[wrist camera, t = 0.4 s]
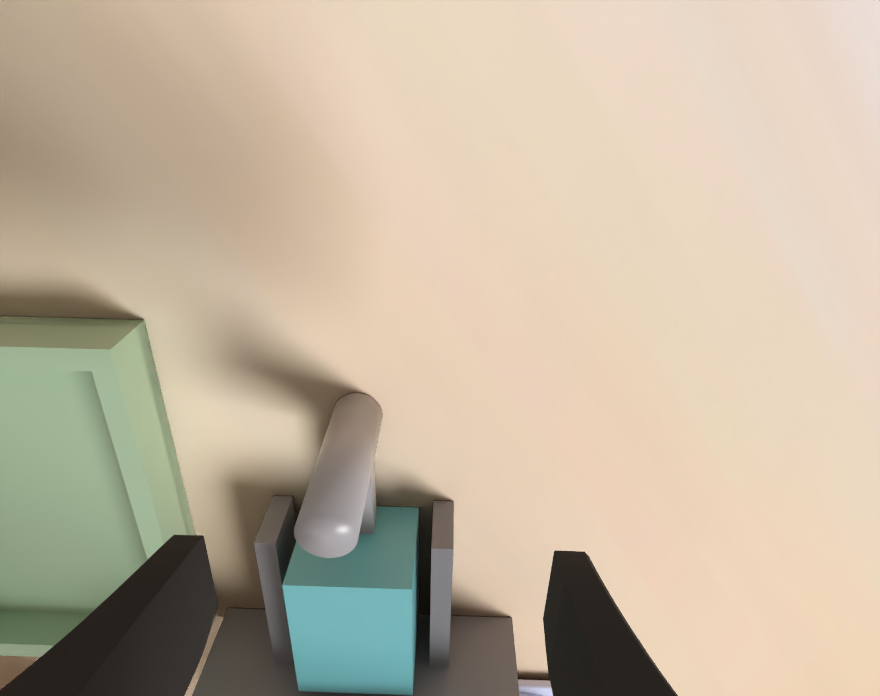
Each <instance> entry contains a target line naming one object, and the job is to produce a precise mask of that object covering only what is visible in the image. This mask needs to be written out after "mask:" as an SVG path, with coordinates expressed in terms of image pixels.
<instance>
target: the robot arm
mask: <svg viewBox="0 0 880 696" xmlns="http://www.w3.org/2000/svg"><path fill="white" fill-rule="evenodd" d="M217 606H218V603H217V598H216V593H215V588H214V584H213V579H212V574H211V569H210V564H209V560H208V555H207V550H206V545H205V540H204V536H197V535H173V536H172V537H171V538H170V539H169V540H168V541H166V542H165V543H164V544H163V545H162V546H161V547H160V548H159V549H158V550H157V551H156V552H155V553H154V554H153V555H152V556H151V557H150V558H149V559H148V560H147V561H146V562H144V563H143V564H142V565H141V566H140V567H139V568H138V569H137V570H136V571H135V572H134V573H133V574H132V575H131V576H130V577H129V578H128V579H127V580H126V581H125V582H124V583H123V584H122V585H120V586H119V587H118V588H117V589H116V590H115V591H114V592H113V593H112V594H111V595H110V596H109V597H108V598H107V599H106V600H104V601H103V602H102V603H101V604H100V605H99V606H98V607H97V608H96V609H95V610H94V611H93V612H91V613H90V614H89V615H88V616H87V617H86V618H85V619H84V620H83V621H82V622H81V623H79V624H78V625H77V626H76V627H75V628H74V629H73V630H72V631H70V632H69V633H68V634H67V635H66V636H65V637H63V638H62V639H61V640H60V641H59V642H58V643H56V644H55V645H54V646H53V647H52V648H51V649H49V650H48V651H47V652H46V653H45V654H44V655H42V656H41V657H40V658H39V659H38V660H37V661H35V662H34V663H33V664H32V665H31V666H30V667H28V668H27V669H26V670H25V671H23V672H22V673H21V674H20V675H18V676H17V677H16V678H15V679H14V680H12V681H11V682H10V683H9V684H7V685H6V686H5V687H3V688H2V689H1V690H0V696H184V695H185V693H186V691H187V689H188V686H189V684H190V682H191V679H192V677H193V675H194V673H195V670H196V668H197V666H198V663H199V661H200V659H201V657H202V654H203V651H204V648H205V645H206V642H207V639H208V635H209V632H210V629H211V626H212V623H213V619H214V616H215V613H216V609H217ZM543 622H544V633H545V644H546V654H547V664H548V672H549V678H550V681H549V680H521V679H518V686H519V696H678V695H677V694H676V693H675V691H674V690H673V689H672V687H671V686H670V684H669V683H668V682H667V680H666V679H665V678H664V676H663V675H662V673H661V672H660V671H659V669H658V668H657V666H656V665H655V663H654V662H653V661H652V659H651V658H650V656H649V655H648V653H647V652H646V650H645V649H644V647H643V646H642V644H641V643H640V641H639V640H638V638H637V637H636V635H635V634H634V632H633V631H632V629H631V628H630V626H629V625H628V623H627V621H626V620H625V618H624V617H623V615H622V613H621V612H620V610H619V609H618V607H617V605H616V604H615V602H614V600H613V599H612V597H611V595H610V594H609V592H608V590H607V588H606V587H605V585H604V583H603V581H602V580H601V578H600V576H599V574H598V573H597V571H596V569H595V567H594V565H593V563H592V561H591V560H590V558H589V556H588V555H587V554H586V553H585V552H576V551H554V556H553V562H552V568H551V575H550V581H549V587H548V593H547V599H546V605H545V611H544V617H543Z"/></svg>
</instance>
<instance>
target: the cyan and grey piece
mask: <svg viewBox="0 0 880 696" xmlns="http://www.w3.org/2000/svg"><path fill="white" fill-rule="evenodd" d="M381 421H382V409H381V407H380V405H379V404H378V402H377V401H376V400H375V399H373V398H372V397H370V396H368V395H366V394H362V393H351V394H347V395H345V396H343V397H341V398H340V399H339V400H338V401H337V403H336V405H335V407H334V410H333V413H332V416H331V419H330V422H329V425H328V428H327V431H326V434H325V437H324V440H323V443H322V446H321V449H320V452H319V455H318V458H317V461H316V464H315V467H314V470H313V473H312V476H311V479H310V482H309V485H308V488H307V491H306V494H305V497H304V500H303V503H302V506H301V509H300V512H299V515H298V518H297V521H296V524H295V527H294V536H295V539H296V544H295V547H294V550H293V553H292V556H291V559H290V563H289V566H288V569H287V572H286V575H285V578H284V581H283V584H282V587H283V593H284V600H285V606H286V613H287V619H288V626H289V632H290V639H291V645H292V651H293V658H294V664H295V671H296V677H297V684H298V690H299V691H308V692H336V693H364V694H392V695H413V684H414V669H415V654H416V640H417V625H418V610H419V508H418V507H386V506H376V487H375V464H374V457H375V452H376V447H377V442H378V436H379V431H380V426H381Z"/></svg>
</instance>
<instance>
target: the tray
mask: <svg viewBox="0 0 880 696" xmlns="http://www.w3.org/2000/svg"><path fill="white" fill-rule="evenodd" d="M173 535H195V531H194V527H193V523H192V519H191V515H190V510H189V506H188V502H187V498H186V493H185V489H184V485H183V481H182V477H181V472H180V468H179V464H178V460H177V456H176V451H175V447H174V443H173V439H172V435H171V430H170V426H169V422H168V418H167V414H166V409H165V405H164V401H163V397H162V392H161V388H160V384H159V380H158V376H157V371H156V367H155V363H154V359H153V355H152V350H151V346H150V342H149V338H148V334H147V329H146V325H145V321H144V320H129V319H92V318H55V317H18V316H0V656H28V657H41V656H42V655H44V654H45V653H46V652H47V651H48V650H49V649H51V648H52V647H53V646H54V645H55V644H56V643H58V642H59V641H60V640H61V639H62V638H63V637H65V636H66V635H67V634H68V633H69V632H70V631H72V630H73V629H74V628H75V627H76V626H77V625H78V624H79V623H81V622H82V621H83V620H84V619H85V618H86V617H87V616H88V615H89V614H90V613H91V612H93V611H94V610H95V609H96V608H97V607H98V606H99V605H100V604H101V603H102V602H103V601H104V600H106V599H107V598H108V597H109V596H110V595H111V594H112V593H113V592H114V591H115V590H116V589H117V588H118V587H119V586H120V585H122V584H123V583H124V582H125V581H126V580H127V579H128V578H129V577H130V576H131V575H132V574H133V573H134V572H135V571H136V570H137V569H138V568H139V567H140V566H141V565H142V564H143V563H144V562H146V561H147V560H148V559H149V558H150V557H151V556H152V555H153V554H154V553H155V552H156V551H157V550H158V549H159V548H160V547H161V546H162V545H163V544H164V543H165V542H166V541H168V540H169V539H170V538H171V537H172V536H173ZM214 619H215V616H214ZM214 619H213V622H214ZM212 624H213V623H212Z"/></svg>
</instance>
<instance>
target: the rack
mask: <svg viewBox="0 0 880 696" xmlns="http://www.w3.org/2000/svg"><path fill="white" fill-rule="evenodd" d="M453 513H454V501H434V504H433V525H432V545H431V600H430V615H418V625H417V640H416V654H415V669H414V684H413V695H392V694H364V693H336V692H308V691H299V690H298V684H297V677H296V671H295V664H294V658H293V651H292V645H291V639H290V632H289V626H288V619H287V613H286V606H285V600H284V593H283V587H282V584H283V581H284V578H285V575H286V572H287V569H288V566H289V563H290V559H291V556H292V553H293V550H294V547H295V544H296V539H295V536H294V527H295V524H296V520H295V512H294V504H293V496H272V499H271V501H270V504H269V506H268V509H267V511H266V514H265V516H264V518H263V521H262V523H261V526H260V528H259V531H258V533H257V536H256V538H255V541H254V548H255V553H256V559H257V565H258V570H259V576H260V582H261V587H262V593H263V599H264V604H265V609H240V608H228V609H227V611H226V614H225V616H224V619H223V621H222V624H221V626H220V629H219V631H218V633H217V636H216V638H215V641H214V643H213V646H212V648H211V651H210V653H209V656H208V658H207V661H206V663H205V665H204V668H203V670H202V673H201V675H200V678H199V680H198V683H197V685H196V688H195V690H194V692H193V695H192V696H519V686H518V676H517V666H516V655H515V645H514V635H513V624H512V618H504V617H475V616H451V594H452V569H453Z"/></svg>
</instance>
